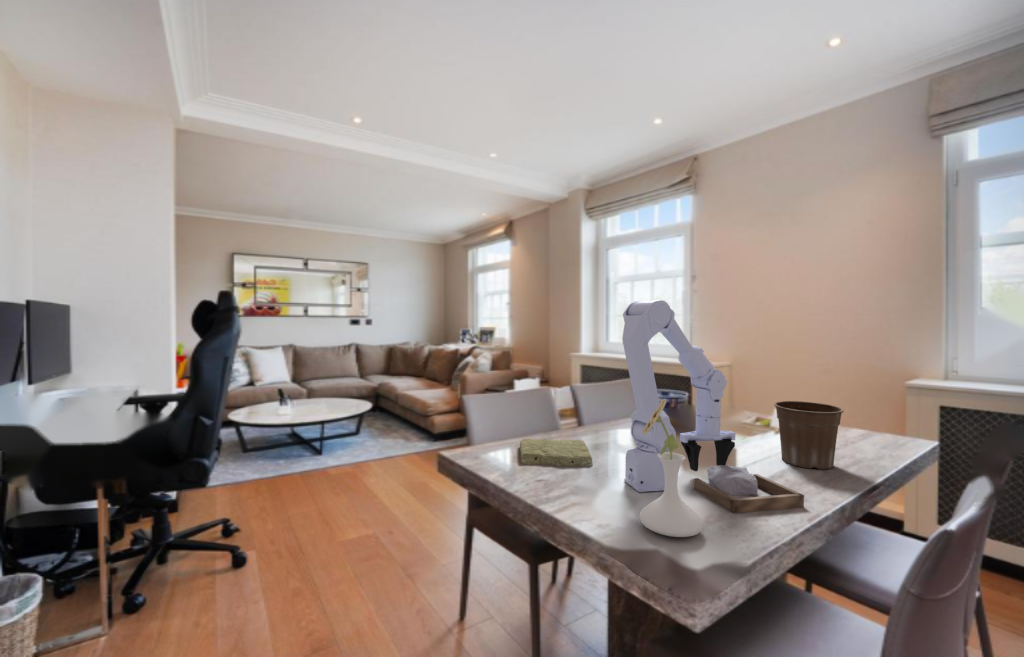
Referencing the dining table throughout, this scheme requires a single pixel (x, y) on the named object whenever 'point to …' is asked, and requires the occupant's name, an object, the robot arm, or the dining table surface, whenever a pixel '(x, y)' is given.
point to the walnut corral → (778, 501)
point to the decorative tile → (555, 452)
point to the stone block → (732, 480)
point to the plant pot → (808, 433)
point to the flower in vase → (669, 493)
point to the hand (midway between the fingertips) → (707, 469)
